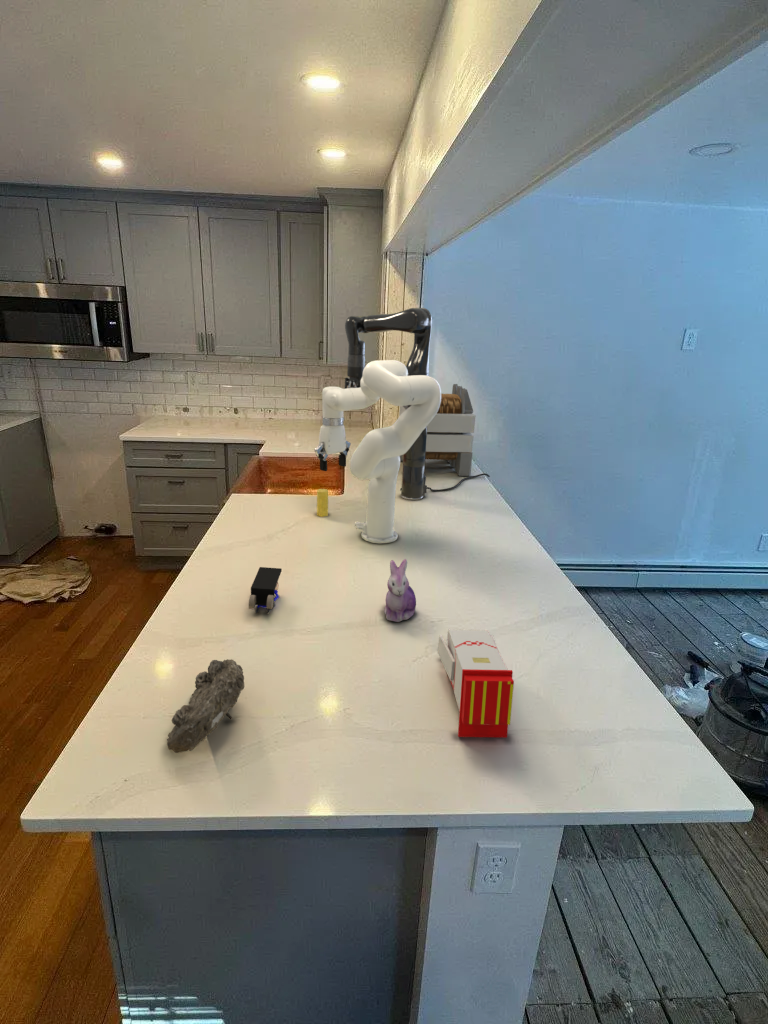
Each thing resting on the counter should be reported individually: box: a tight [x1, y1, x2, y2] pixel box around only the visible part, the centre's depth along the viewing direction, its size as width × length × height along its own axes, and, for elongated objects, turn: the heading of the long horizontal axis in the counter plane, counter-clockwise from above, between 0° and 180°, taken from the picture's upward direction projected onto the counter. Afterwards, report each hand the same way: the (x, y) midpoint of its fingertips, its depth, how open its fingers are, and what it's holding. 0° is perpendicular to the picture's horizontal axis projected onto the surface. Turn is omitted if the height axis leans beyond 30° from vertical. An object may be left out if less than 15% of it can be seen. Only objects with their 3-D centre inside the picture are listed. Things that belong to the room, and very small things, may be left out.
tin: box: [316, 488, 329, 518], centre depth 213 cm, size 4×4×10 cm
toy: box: [437, 628, 515, 738], centre depth 117 cm, size 12×13×30 cm
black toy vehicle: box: [248, 566, 283, 614], centre depth 148 cm, size 7×8×15 cm
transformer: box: [398, 383, 476, 477], centre depth 280 cm, size 34×33×41 cm
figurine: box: [384, 558, 417, 623], centre depth 145 cm, size 9×10×15 cm
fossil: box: [166, 658, 245, 754], centre depth 106 cm, size 22×10×15 cm
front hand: (333, 468), depth 209 cm, fingers open, 9 cm apart
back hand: (355, 403), depth 248 cm, fingers open, 8 cm apart
